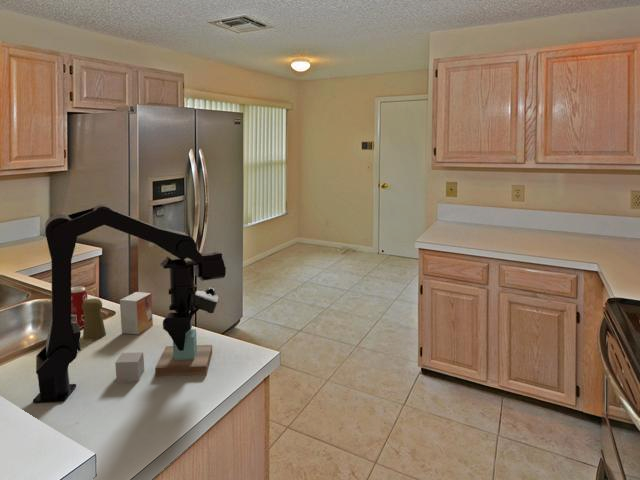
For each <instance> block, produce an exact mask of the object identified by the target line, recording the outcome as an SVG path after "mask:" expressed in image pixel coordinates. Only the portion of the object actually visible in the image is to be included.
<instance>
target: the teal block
mask: <svg viewBox="0 0 640 480" xmlns="http://www.w3.org/2000/svg"><path fill="white" fill-rule="evenodd" d="M197 338H198V337H197V328H191V329H190V330H189V331H187V332H186V339H185V346H184V350H183V351H179V350H178V348H177V346H176V345H175V343H174V341H173V340H172V346H173V354H174V360H190V359H195V356H196V352H197V345H198V344H197Z"/></svg>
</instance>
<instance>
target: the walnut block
mask: <svg viewBox="0 0 640 480" xmlns="http://www.w3.org/2000/svg"><path fill="white" fill-rule="evenodd" d="M212 356H213V344H202V345H201V344H197V352H196V356H195V359H190V360H174V354H173V345H167V346H165V348H164V349H163V352H162V353H161V356H160V358H159V360H158V361H157V363H156V365H155V368H154V373H155V375H154V376H155V378H165V377H167V378H168V377H172V378H173V377H192V376H193V377H195V376H207V375H208V371H209V367H210V364H211V363H210V362H211V359H212Z"/></svg>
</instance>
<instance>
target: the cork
mask: <svg viewBox="0 0 640 480" xmlns="http://www.w3.org/2000/svg"><path fill="white" fill-rule="evenodd" d="M82 309H83V311H84V312H85V314H84V328H82V329H83V332H82V334H83V335H82V338H83V340H87V341H92V340H93V341H96V340H99V339H102V338H104V337H106V336H107V332H106V331H107V330H106V328H105V324H104V319H103V315H102V309H103V302H102V300H101V299H99V298H88V300H85V301H84V302H83V303H82Z"/></svg>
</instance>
